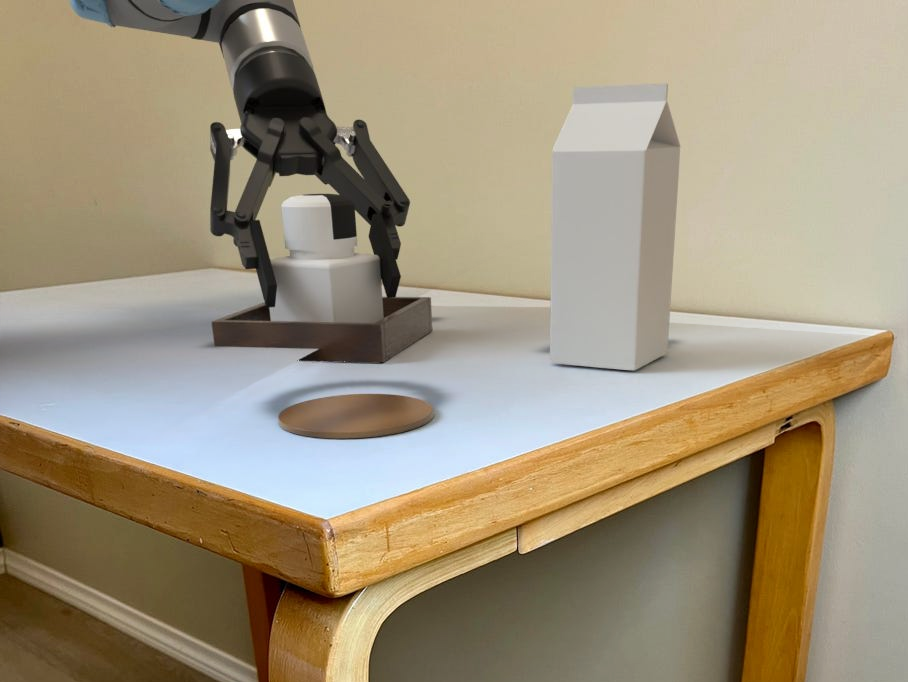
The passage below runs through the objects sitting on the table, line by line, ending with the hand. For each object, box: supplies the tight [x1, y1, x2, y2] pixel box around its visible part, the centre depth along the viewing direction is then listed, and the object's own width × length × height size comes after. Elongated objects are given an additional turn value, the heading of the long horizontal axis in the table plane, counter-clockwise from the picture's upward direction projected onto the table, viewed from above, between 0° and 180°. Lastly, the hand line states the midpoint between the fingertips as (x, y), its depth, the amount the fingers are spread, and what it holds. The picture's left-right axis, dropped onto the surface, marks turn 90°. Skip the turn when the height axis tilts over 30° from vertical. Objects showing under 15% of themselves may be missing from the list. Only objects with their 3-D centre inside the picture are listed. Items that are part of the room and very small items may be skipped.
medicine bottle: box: [269, 193, 384, 323], centre depth 85 cm, size 7×7×12 cm
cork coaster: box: [277, 393, 435, 440], centre depth 65 cm, size 10×10×1 cm
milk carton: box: [549, 82, 681, 371], centre depth 75 cm, size 7×7×19 cm
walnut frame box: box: [211, 296, 433, 363], centre depth 88 cm, size 15×15×3 cm
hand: (334, 291), depth 84 cm, fingers closed on medicine bottle, 10 cm apart
